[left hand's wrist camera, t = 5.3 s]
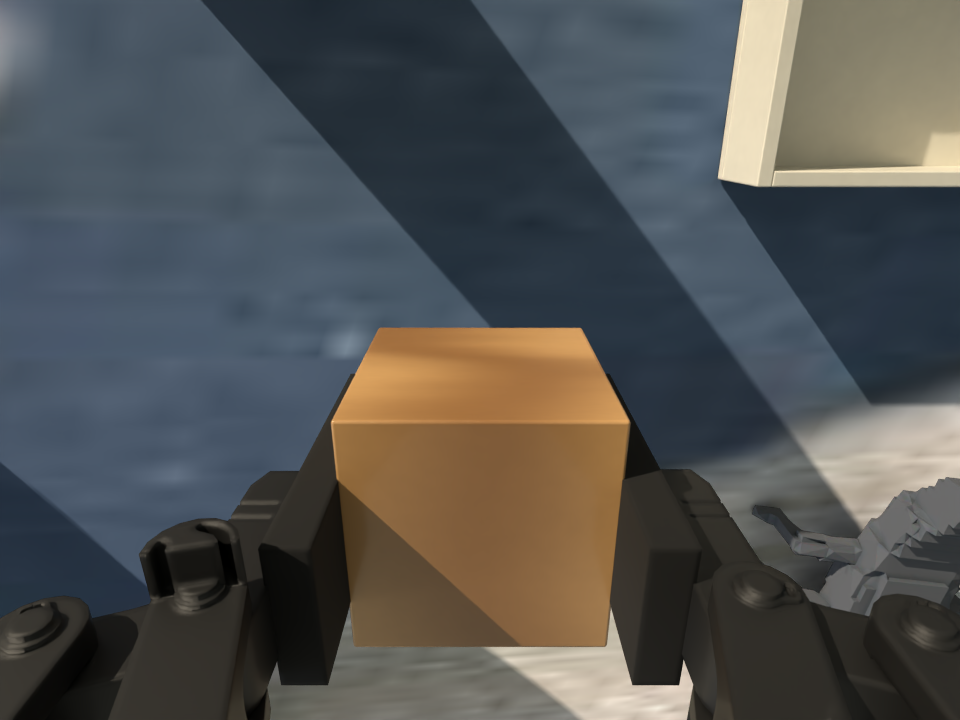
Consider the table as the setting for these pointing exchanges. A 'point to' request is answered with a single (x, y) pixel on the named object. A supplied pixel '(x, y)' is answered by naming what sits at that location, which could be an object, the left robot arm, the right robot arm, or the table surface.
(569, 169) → the table surface
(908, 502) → the toy
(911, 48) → the pan
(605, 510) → the wooden cube
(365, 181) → the table surface
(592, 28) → the table surface
